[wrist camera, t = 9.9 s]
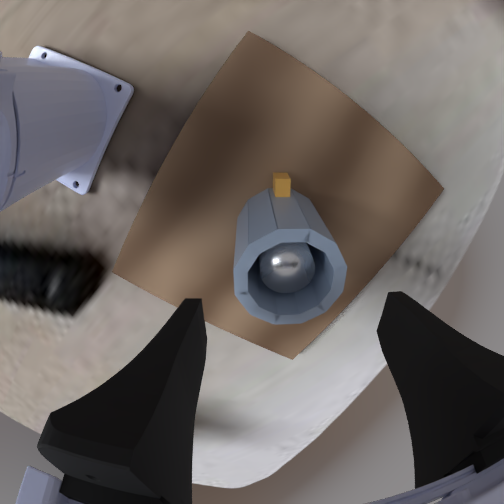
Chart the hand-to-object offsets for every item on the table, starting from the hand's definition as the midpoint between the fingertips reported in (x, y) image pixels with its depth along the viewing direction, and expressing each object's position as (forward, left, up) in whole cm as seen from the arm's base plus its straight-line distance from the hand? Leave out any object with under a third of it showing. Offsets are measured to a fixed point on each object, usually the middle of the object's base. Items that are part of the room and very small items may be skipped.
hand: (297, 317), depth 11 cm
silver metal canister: (0, 0, -8) cm, 8 cm away
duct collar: (0, 0, -8) cm, 8 cm away
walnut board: (0, 0, -9) cm, 9 cm away
